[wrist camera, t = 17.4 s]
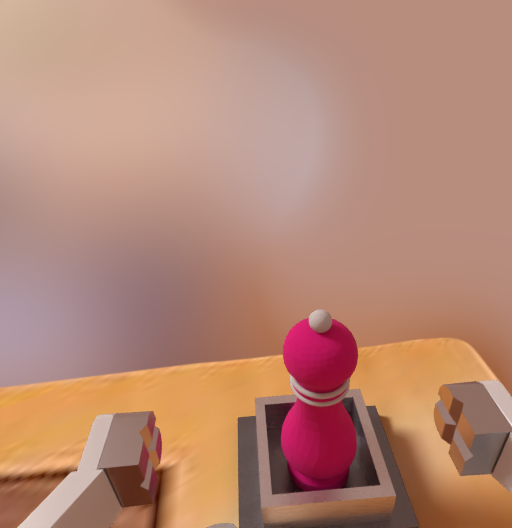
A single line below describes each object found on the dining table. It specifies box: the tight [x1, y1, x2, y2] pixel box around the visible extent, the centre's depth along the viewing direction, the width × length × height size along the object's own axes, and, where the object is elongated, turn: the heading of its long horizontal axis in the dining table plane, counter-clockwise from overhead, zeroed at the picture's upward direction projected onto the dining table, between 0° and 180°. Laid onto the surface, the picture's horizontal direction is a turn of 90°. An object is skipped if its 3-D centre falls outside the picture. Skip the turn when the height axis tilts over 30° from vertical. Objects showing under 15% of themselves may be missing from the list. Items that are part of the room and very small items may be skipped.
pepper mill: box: [281, 310, 358, 492], centre depth 36 cm, size 7×7×20 cm
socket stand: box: [238, 389, 419, 528], centre depth 40 cm, size 16×13×6 cm
